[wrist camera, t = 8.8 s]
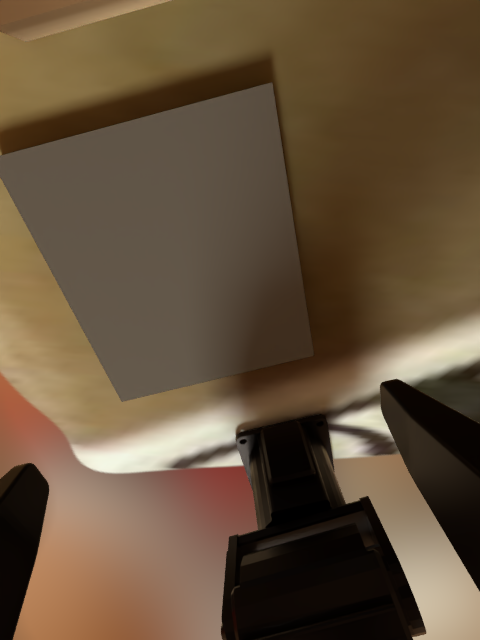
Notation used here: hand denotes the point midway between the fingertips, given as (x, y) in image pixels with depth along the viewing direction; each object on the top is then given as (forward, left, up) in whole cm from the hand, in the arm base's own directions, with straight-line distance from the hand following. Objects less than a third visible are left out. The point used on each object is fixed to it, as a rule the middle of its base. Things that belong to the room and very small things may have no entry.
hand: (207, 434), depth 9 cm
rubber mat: (0, +1, -12) cm, 12 cm away
